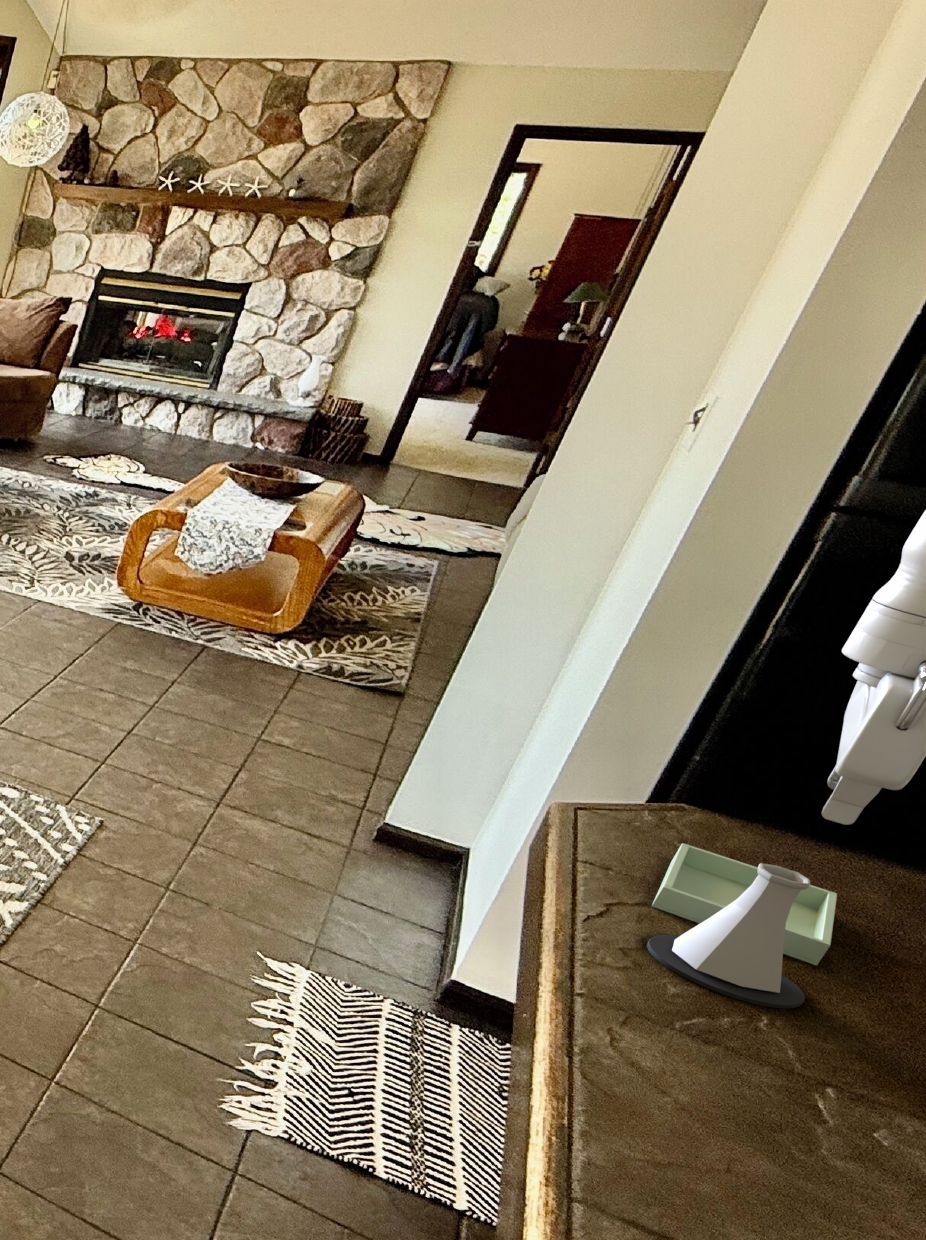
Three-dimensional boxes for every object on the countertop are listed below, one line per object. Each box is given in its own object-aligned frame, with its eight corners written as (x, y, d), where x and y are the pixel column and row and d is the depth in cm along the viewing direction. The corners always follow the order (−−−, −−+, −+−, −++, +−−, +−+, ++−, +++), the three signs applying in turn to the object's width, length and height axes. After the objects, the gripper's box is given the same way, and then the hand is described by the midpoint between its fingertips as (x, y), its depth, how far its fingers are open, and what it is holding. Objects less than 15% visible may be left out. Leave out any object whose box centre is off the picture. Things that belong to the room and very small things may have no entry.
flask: (762, 962, 103) (824, 869, 99) (796, 1005, 97) (864, 907, 93) (657, 934, 106) (712, 842, 102) (684, 973, 100) (744, 877, 96)
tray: (671, 861, 121) (682, 842, 120) (824, 912, 113) (837, 893, 112) (651, 906, 112) (663, 886, 111) (816, 965, 104) (830, 945, 103)
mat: (768, 961, 104) (770, 957, 104) (828, 1023, 96) (831, 1019, 95) (628, 926, 108) (630, 922, 108) (674, 983, 99) (676, 979, 99)
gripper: (1004, 691, 81) (893, 857, 86) (992, 639, 93) (896, 787, 98) (871, 662, 85) (774, 822, 91) (877, 616, 97) (791, 759, 103)
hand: (837, 803), depth 95 cm, fingers open, 8 cm apart
